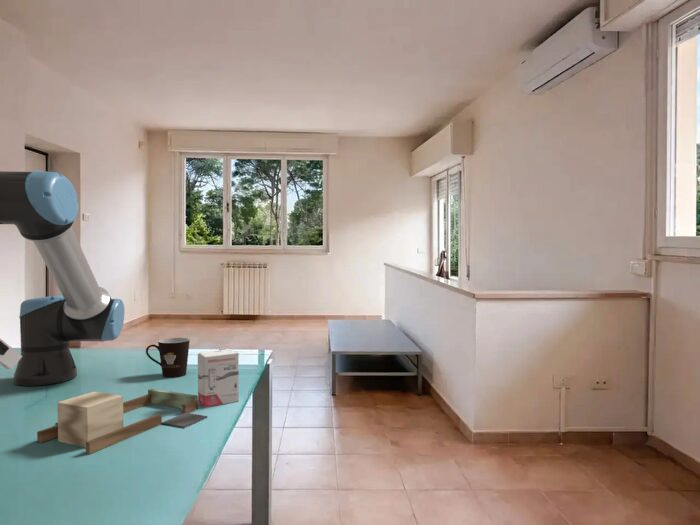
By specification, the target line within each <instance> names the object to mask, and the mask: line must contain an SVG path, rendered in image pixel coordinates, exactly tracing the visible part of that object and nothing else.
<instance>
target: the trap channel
mask: <svg viewBox="0 0 700 525" xmlns="http://www.w3.org/2000/svg"><path fill="white" fill-rule="evenodd" d="M150 404H155V405H161V406H167V407H175V408H179V407H180V409H181V413H182V414H179V415H176V416H174V417H172V418H170V419H167V420H165V421H163V420H162V419H163V418H162V413H157V414H156V413H155V414H154V415H152V416H148V417H147V418H144V419H141V420H139V421H136V422H133V423H131V424H128V425H126V426H123V428H121V429H118V430H115V431H113V432H110V433H108V434H105V435H103V436H100V437H98V438H95V439H93V440H90V441H87V442H86V447H85V454H86V455H92V454H95V453H96V452H98V451H101V450H103V449H105V448H108V447H111V446H113V445H115V444H118V443H119V442H122V441H125V440H127V439H129V438H132V437H134V436H137V435H139V434H141V433H144V432H146V431H149V430H151V429H154V428H156V427H158V426H160V425H165V426H172V427H177V428H181V427H183V429H186V428H188V427H190V426H192V425H194V424H197V423H199V422H200V420H201V421H203V420H205V419H207V418H208V416H207V415H202V414H197V413H191V412H193V410H194V411H196V410H198V409H199V403H198V394H197V395H196V394H190V393H183V392H182V393H181V392H176V391H175V392H174V391H169V390H163V389H162V390H161V389H156V388H149V389H147V394H144V395H141V396H138V397H136V398H133V399H130V400H126V401H123V414H125V413H128V412H130V411H133V410H136V409H138V408H142V407H144V406H147V405H150ZM195 409H196V410H195ZM188 412H189V413H188ZM204 418H205V419H204ZM202 419H203V420H202ZM198 421H199V422H198ZM196 422H197V423H196ZM187 426H188V427H187ZM185 427H186V428H185ZM36 436H37V438H36V440H37V441H36V442H37V443H39V444H42V443H45V442H47V441H51V440H53V439H56V438H58V421H57V422H55V425H53V426H50V427H47V428H45V429H41V430H39V431H36Z"/></svg>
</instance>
